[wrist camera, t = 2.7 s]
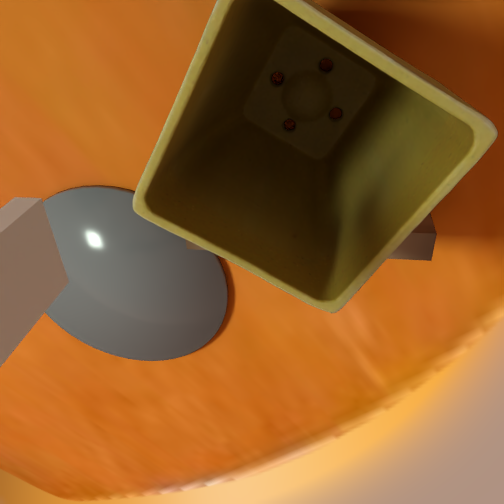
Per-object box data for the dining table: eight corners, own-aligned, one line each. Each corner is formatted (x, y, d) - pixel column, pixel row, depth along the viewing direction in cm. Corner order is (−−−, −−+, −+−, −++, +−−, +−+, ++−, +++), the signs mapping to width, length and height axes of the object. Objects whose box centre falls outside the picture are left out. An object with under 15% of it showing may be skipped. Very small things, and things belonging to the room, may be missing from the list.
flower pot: (450, 60, 20) (509, 134, 13) (336, 207, 25) (333, 320, 18) (276, -55, 19) (234, -44, 12) (191, 124, 24) (125, 210, 17)
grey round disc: (56, 348, 36) (53, 352, 36) (-11, 182, 28) (-15, 185, 28) (235, 364, 34) (234, 368, 33) (217, 188, 26) (215, 191, 25)
